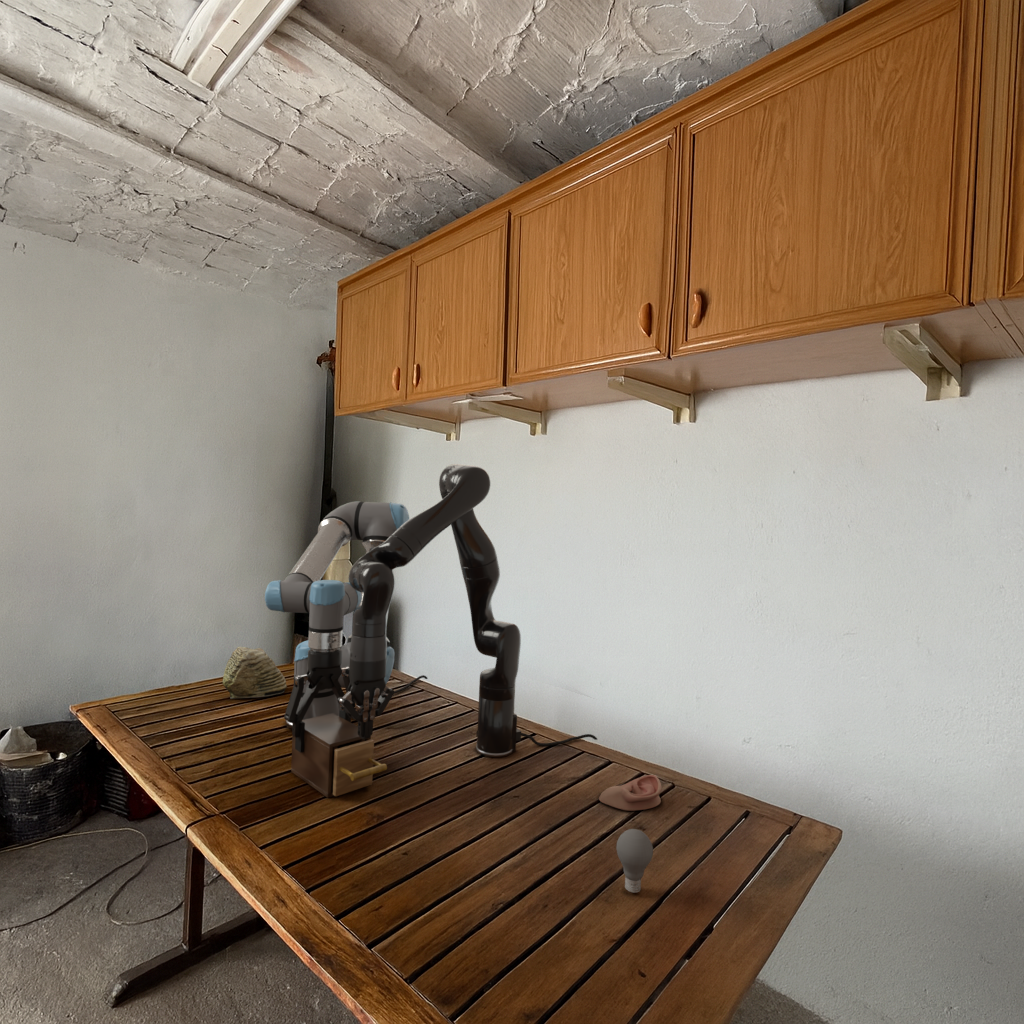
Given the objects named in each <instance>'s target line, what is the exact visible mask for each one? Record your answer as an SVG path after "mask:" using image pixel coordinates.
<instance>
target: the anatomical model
mask: <svg viewBox="0 0 1024 1024" xmlns="http://www.w3.org/2000/svg"><path fill="white" fill-rule="evenodd" d="M662 788H663V787H662V783H661V781H660V779H659V777H658V776H656V775H654V774H648V775H644V776H639V777H637V778H634V779H633V780H630V781H628V782H627V783H624V784H621V785H613V786H610V787H607V788H606V789H604V790H603V791H602V792H601V794H599V796H598V801H600V802H601V803H602V804H604V805H607V806H610V807H612V808H614V809H617V810H621V811H631V812H632V811H642V810H643V811H644V810H648V809H653V808H655V807H657V806H659V805H660V804H661V802H662V801H661V798H660V794H661V792H662V790H663V789H662Z"/></svg>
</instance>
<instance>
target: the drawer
mask: <svg viewBox="0 0 1024 1024" xmlns="http://www.w3.org/2000/svg"><path fill="white" fill-rule="evenodd" d="M374 751H375V740H373V739H371V740H367V741H365V739H361V740H357V741H353V742H350V743H346V744H342V745H339V746H335V747H333V758H332V783H331V789H332V790H333V795H334V796H333V797H338V796H342V795H345V794H348V793H351V792H354V791H357V790H359V789H362V788H366V787H368V786H371V785H373V775H375V774H378V773H381V772H386V771H387V769H388V766H387V763H381V762H379V761H377V760H375V759H374V754H375V753H374ZM374 765H375V766H374Z"/></svg>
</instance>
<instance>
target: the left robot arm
mask: <svg viewBox="0 0 1024 1024" xmlns="http://www.w3.org/2000/svg"><path fill="white" fill-rule="evenodd" d="M409 519H410V515H409V511H408V509H407V507H406V505H405V504H402V503H397V502H391V501H389V502H380V501H360V500H355V501H350V502H347V503H345V504H341V505H340V506H338V507H336V508H335V509H333V510H332V511H330V512H329V513H328V514H327V515H325V517H323V519H322V520H321V521H320V523H319V525H318V526H317V534H315V536H314V537H313V539H312V540H311V542H310V543H309V545H308V546H307V547H306V549H305V550H304V552H302V555H301V556H300V558H299V559H298V560H297V562H296V563H295V565H294V566H293V568H292V569H291V570H290V572H289V573H288V574H287V576H286V577H285V578H284V580H281V579H279V580H272V581H270V582H269V583H268V584H267V586H266V588H265V592H264V601H265V606H266V607H267V609H268V610H270V611H274V612H281V613H295V614H296V613H297V614H298V613H299V614H308V615H309V617H308V620H309V621H308V639H307V640H304V641H302V642H300V643H298V644H297V645H296V647H295V654H294V659H293V661H294V670H293V671H294V672H293V686H292V690H291V693H290V696H289V700H288V703H287V706H286V710H285V713H284V716H283V719H284V720H285V726H286V728H287V729H289V730H291V734H292V735H293V736H294V737H295V749H296V750H297V751H299V752H300V753H301V752H304V734H305V723H304V722H303V721H302V720H305V719H310V718H314V717H318V716H323V715H327V714H331V713H334V714H335V715H337V716H339V717H341V718H343V719H345V720H347V721H349V722H351V723H352V721H351V720H352V718H350V717H349V716H348V714H347V713H346V712H345V710H344V709H343V708H342V707H341V705H340V704H339V703H338V701H337V699H338V698H339V697H343V696H344V695H345V694H346V693H347V692H348V686H349V684H350V678H349V666H350V644H351V639H352V634H350V635H349V636H348V637H347V642H346V644H343V633H344V616H347V615H349V614H351V613H353V612H354V610H355V608H357V607H358V606H361V604H362V600H363V594H364V593H362V592H359V591H357V590H355V589H354V588H352V586H351V585H350V583H349V581H348V582H347V581H346V582H343V581H341V580H337V579H322V578H323V577H324V575H325V574H326V572H327V570H328V569H329V567H330V565H331V564H332V562H333V561H334V559H335V557H336V556H337V554H338V552H339V551H340V550H341V548H342V547H345V546H346V545H347V544H348V543H349V542H350V541H362V547H363V548H364V549H365V550H366V553H368V552H369V551H371V550H372V549H374V548H375V547H377V546H379V545H381V544H382V543H384V542H385V541H386V540H387V539H388V538H389V537H390V536H391V535H392V534H393V533H394V532H395V531H396V530H397V529H398V528H399V527H400V526H402V525H403V524H404V523H405V522H406V521H408V520H409ZM366 553H365V554H366ZM392 571H393V574H394V572H395V569H393V570H392ZM389 610H390V608H389V609H388V612H387V619H388V618H389ZM386 640H387V655H386V676H385V678H384V680H385V682H386V685H387V684H388V682H389V681H390V678H391V675H392V673H393V670H394V664H395V657H396V656H395V649H394V648H393V647H392V646H390V645H391V644H390V643H391V641H390V640H389V638H388V637H387V636H386ZM422 678H423V679H425V680H428V676H427V675H423V674H422V675H419V676H418V677H416V678H415V679H413V680H411V681H410V682H409V683H408V684H407V685H405V686H403V687H401V688H399V689H397V690H394V695H395V694H397V693H401V692H403V691H404V690H406V689H408V688H409V687H410V686H412V685H413V684H414V683H416V682H417V681H419V680H421V679H422ZM343 689H345V692H346V693H345V692H344V690H343ZM351 699H352V697H351ZM351 705H352V706H353V707H354V708H355V702H354V700H353V699H352V704H351ZM355 709H356V708H355Z"/></svg>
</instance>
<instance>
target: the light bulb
mask: <svg viewBox="0 0 1024 1024" xmlns="http://www.w3.org/2000/svg"><path fill="white" fill-rule="evenodd" d="M615 849H616V854H617V857H618V859H619V861H620V863H621V865H622V867H623V873H624V874H623V875H624V876H625V878H624V888H625V890H627V891H628V892H630V893H634V894H635V893H639V892H640V891H641V889H642V887H641V886H642V879H643V877H644V875H645V871H646V868H647V867H648V866H649V864H650V863H651V861H652V859H653V855H654V847H653V843H652V841H651V838H649V836H648V835H647V834H646V833H645V832H643V831H642V830H641V829H636V828H629V829H627V830H625V831H623V832H622V833H621V834H620V835H619V837H618V839H617V841H616V847H615Z"/></svg>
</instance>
